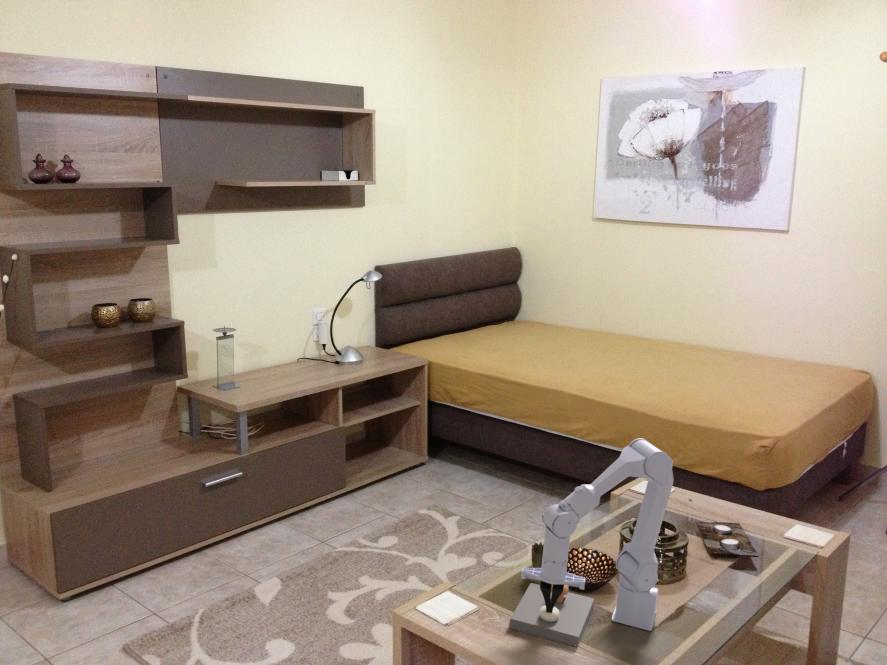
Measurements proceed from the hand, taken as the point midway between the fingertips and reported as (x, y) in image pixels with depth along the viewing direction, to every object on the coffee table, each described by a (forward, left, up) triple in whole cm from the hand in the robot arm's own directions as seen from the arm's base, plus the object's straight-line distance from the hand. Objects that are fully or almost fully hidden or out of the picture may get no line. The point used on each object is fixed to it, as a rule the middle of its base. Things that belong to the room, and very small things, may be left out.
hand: (549, 610), depth 189 cm
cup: (+7, -23, -4) cm, 24 cm away
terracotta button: (0, -9, -2) cm, 9 cm away
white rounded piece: (0, 0, -4) cm, 4 cm away
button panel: (0, -5, -4) cm, 6 cm away
